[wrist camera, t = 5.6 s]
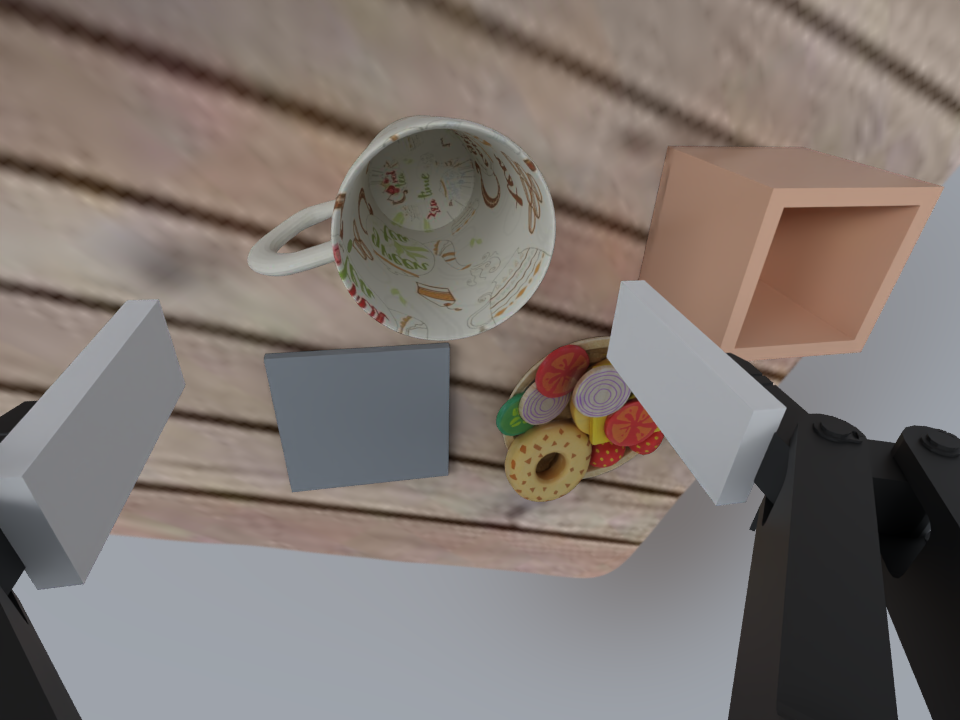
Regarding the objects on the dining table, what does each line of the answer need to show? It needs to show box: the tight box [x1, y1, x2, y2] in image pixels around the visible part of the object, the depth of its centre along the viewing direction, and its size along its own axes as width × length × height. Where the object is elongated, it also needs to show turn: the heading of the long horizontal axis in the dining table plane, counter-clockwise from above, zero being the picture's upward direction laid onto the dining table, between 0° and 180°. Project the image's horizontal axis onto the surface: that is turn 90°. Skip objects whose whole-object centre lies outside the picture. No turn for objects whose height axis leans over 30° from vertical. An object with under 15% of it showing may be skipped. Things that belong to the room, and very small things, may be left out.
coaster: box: [264, 343, 450, 492], centre depth 35 cm, size 11×11×1 cm
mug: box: [248, 115, 556, 341], centre depth 23 cm, size 8×13×10 cm, turn 105°
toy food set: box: [496, 336, 664, 502], centre depth 37 cm, size 13×13×3 cm
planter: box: [639, 146, 944, 361], centre depth 28 cm, size 9×9×9 cm
